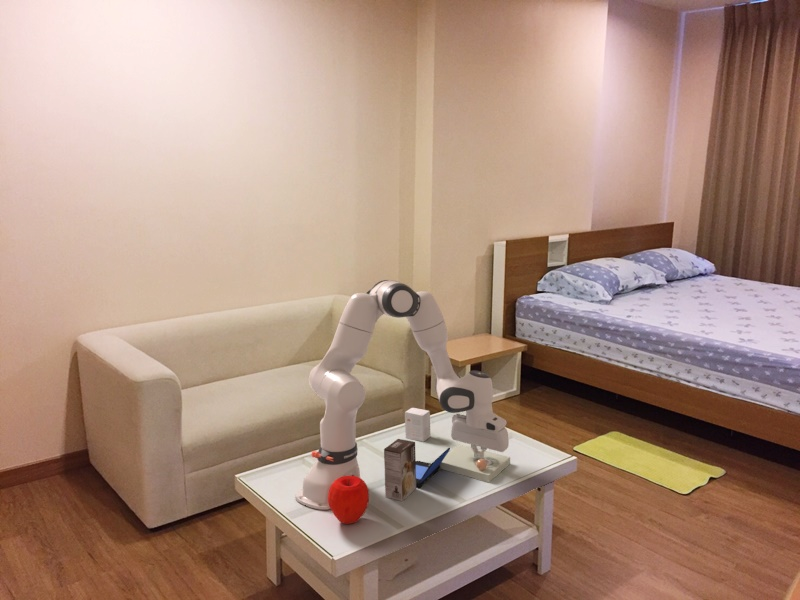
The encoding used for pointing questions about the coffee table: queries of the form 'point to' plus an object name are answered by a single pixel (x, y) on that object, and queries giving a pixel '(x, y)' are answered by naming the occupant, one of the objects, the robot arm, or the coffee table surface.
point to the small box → (417, 424)
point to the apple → (348, 498)
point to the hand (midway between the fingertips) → (479, 457)
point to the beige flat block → (473, 463)
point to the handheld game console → (428, 469)
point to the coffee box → (400, 469)
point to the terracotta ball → (481, 464)
